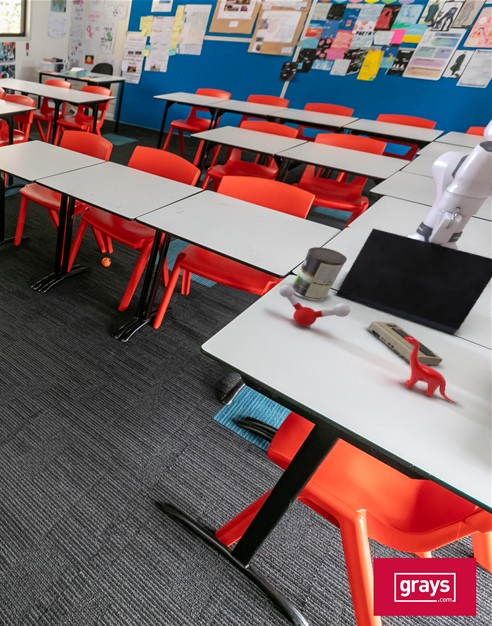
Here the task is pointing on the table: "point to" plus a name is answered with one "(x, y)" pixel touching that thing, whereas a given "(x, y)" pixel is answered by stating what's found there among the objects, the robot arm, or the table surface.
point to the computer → (402, 342)
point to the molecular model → (308, 315)
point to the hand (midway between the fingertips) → (429, 248)
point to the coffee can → (318, 273)
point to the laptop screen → (418, 277)
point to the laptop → (397, 312)
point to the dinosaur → (424, 373)
